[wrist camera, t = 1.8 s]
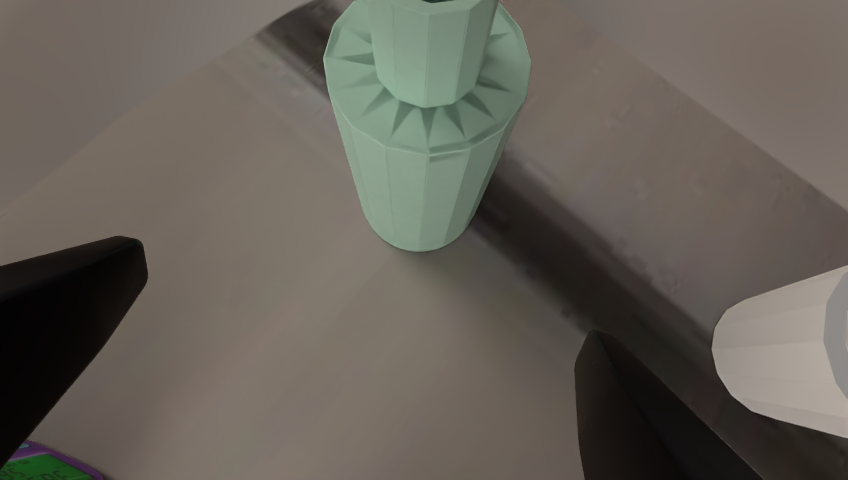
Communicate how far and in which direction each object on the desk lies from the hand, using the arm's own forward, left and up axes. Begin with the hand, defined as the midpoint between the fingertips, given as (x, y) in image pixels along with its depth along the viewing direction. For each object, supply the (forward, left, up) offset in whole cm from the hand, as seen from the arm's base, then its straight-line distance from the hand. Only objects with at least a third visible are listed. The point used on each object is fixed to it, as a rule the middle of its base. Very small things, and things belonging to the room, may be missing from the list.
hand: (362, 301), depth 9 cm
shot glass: (-4, -18, -13) cm, 23 cm away
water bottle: (+7, -3, -13) cm, 15 cm away
